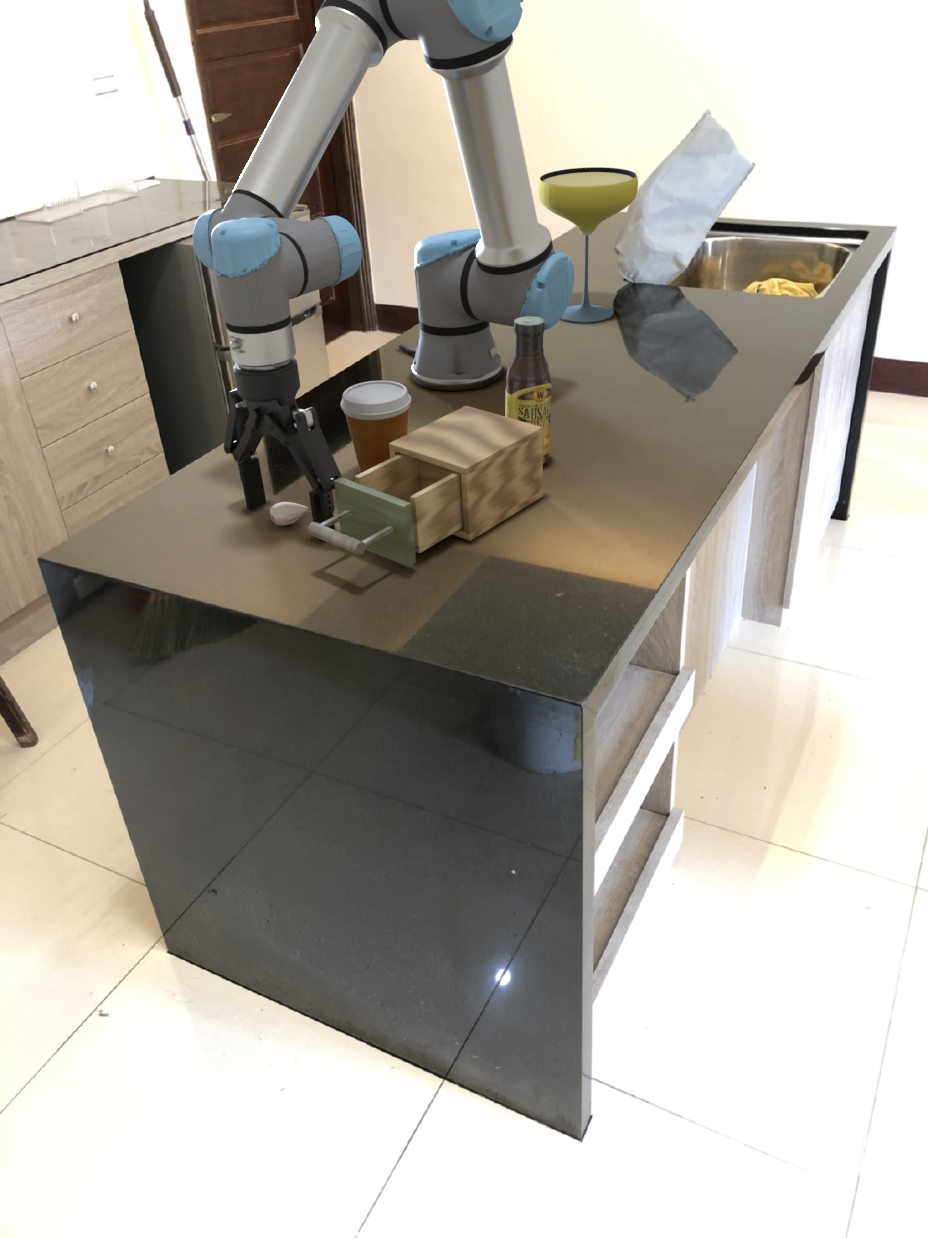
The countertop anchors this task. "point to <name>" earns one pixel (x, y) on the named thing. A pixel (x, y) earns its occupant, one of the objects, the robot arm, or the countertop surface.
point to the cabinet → (482, 463)
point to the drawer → (395, 509)
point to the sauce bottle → (529, 379)
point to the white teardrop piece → (287, 513)
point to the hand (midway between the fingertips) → (290, 520)
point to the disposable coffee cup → (375, 419)
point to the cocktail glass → (587, 214)
